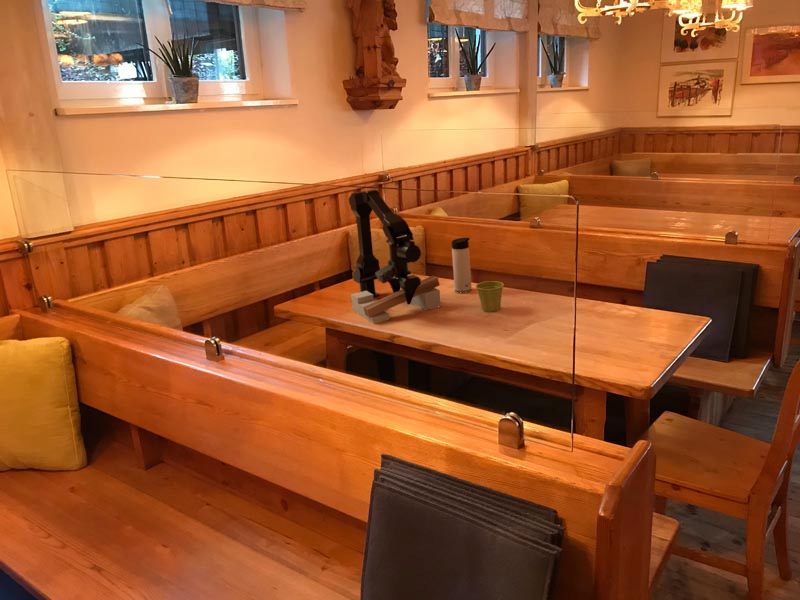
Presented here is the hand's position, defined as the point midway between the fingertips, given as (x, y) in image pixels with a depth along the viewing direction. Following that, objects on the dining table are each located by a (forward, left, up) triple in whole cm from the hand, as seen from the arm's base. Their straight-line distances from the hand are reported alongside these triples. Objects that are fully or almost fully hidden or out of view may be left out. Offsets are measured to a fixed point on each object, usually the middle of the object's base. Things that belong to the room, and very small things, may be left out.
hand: (402, 300), depth 233 cm
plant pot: (+17, +24, -4) cm, 30 cm away
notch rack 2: (-6, +10, -4) cm, 12 cm away
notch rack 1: (-6, -10, -4) cm, 12 cm away
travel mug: (-7, +28, -4) cm, 30 cm away
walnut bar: (0, 0, 0) cm, 0 cm away
